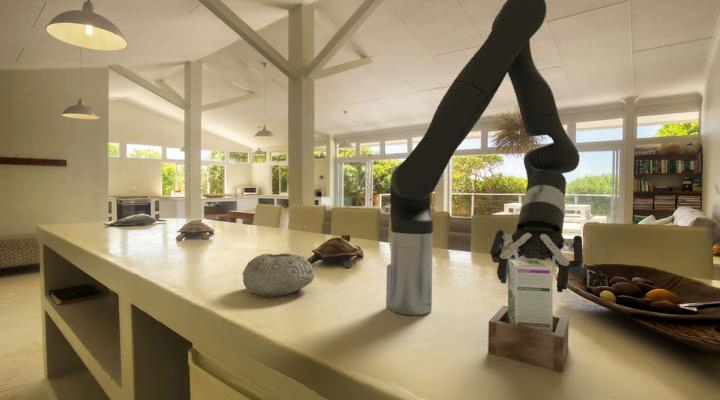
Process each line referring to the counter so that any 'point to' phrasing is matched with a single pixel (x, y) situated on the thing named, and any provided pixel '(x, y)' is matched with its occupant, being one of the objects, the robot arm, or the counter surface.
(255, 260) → the grey carved stone
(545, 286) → the syrup box
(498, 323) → the walnut collar
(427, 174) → the robot arm
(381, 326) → the counter surface
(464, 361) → the counter surface
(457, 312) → the counter surface
